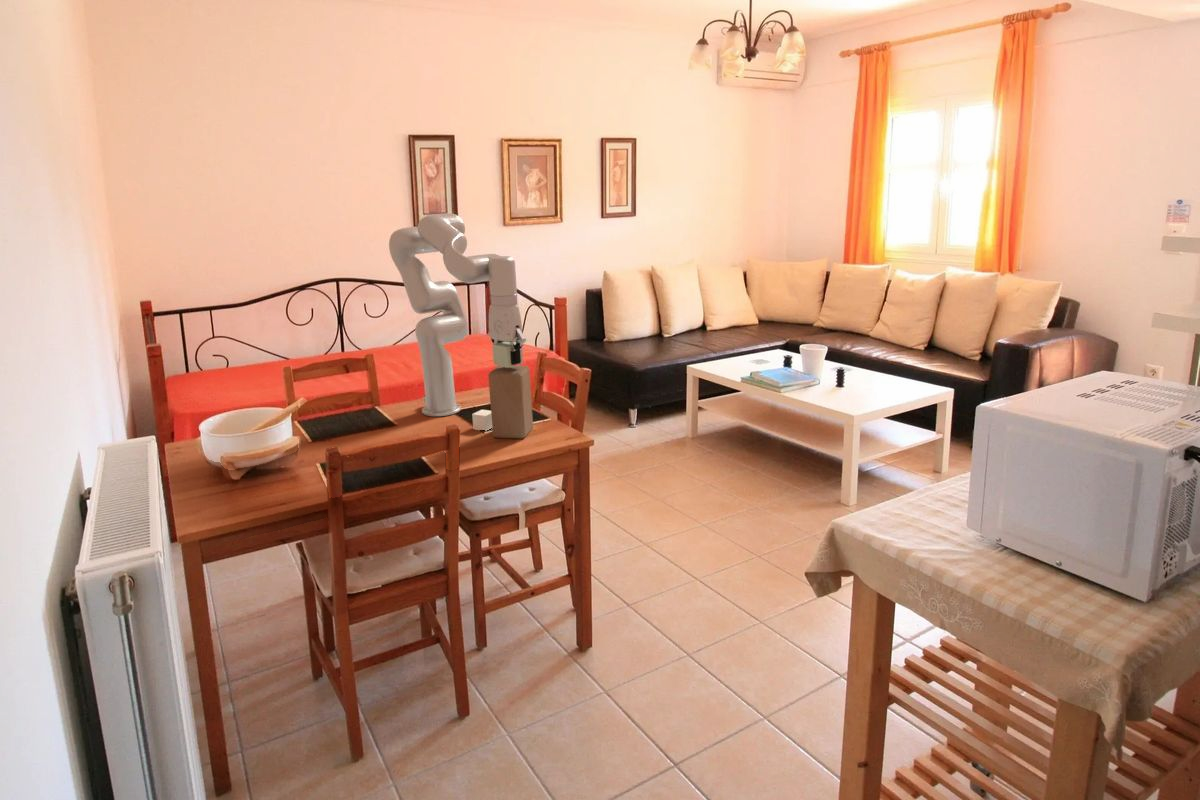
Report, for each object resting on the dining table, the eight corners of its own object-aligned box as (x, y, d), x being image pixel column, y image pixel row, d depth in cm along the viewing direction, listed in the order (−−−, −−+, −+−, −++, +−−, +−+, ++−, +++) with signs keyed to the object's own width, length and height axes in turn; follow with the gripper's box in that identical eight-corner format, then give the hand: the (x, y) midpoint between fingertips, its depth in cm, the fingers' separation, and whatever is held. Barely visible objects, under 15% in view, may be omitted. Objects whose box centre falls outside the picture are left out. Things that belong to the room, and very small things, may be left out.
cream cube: (473, 429, 231) (472, 414, 229) (483, 424, 235) (481, 409, 234) (486, 431, 229) (485, 416, 227) (496, 426, 233) (495, 411, 231)
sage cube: (493, 364, 220) (492, 344, 218) (509, 360, 224) (508, 340, 222) (507, 367, 216) (505, 347, 214) (523, 363, 220) (521, 343, 218)
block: (524, 439, 220) (520, 373, 214) (492, 438, 222) (486, 373, 216) (534, 428, 230) (530, 364, 224) (502, 427, 232) (498, 364, 226)
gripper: (474, 299, 217) (479, 360, 223) (514, 305, 206) (518, 369, 211) (494, 296, 223) (499, 355, 228) (534, 301, 211) (538, 363, 217)
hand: (508, 361), depth 220 cm, fingers closed on sage cube, 6 cm apart
